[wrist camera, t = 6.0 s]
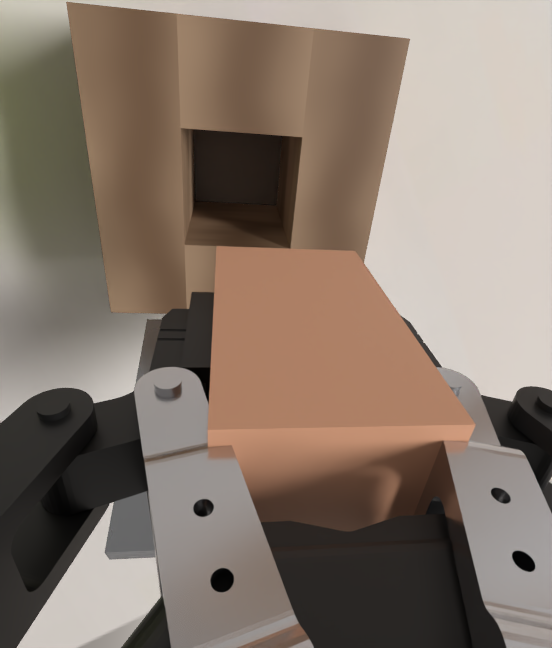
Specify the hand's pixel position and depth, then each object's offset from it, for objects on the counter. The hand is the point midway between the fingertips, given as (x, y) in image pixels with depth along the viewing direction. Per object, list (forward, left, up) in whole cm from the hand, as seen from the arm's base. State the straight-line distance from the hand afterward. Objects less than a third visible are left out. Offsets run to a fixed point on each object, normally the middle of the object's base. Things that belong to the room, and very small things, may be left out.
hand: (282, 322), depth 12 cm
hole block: (-1, +1, -19) cm, 19 cm away
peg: (0, 0, -1) cm, 1 cm away
